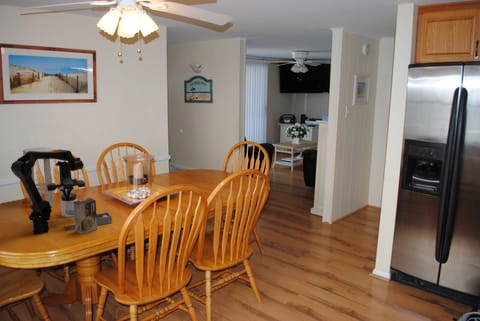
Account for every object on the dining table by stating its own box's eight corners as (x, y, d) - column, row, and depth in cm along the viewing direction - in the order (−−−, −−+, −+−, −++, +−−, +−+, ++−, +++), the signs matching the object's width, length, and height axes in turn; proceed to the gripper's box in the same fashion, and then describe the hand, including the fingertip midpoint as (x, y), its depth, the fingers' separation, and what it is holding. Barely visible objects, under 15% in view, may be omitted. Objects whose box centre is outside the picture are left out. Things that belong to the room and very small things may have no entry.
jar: (66, 212, 227) (64, 192, 225) (80, 212, 228) (78, 192, 225) (59, 217, 219) (58, 197, 216) (74, 217, 219) (72, 197, 217)
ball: (108, 222, 213) (102, 221, 211) (106, 220, 215) (100, 220, 213) (109, 216, 212) (103, 215, 210) (108, 214, 215) (102, 214, 213)
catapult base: (66, 230, 199) (65, 220, 198) (64, 226, 204) (63, 216, 203) (96, 225, 208) (95, 215, 207) (93, 221, 213) (93, 212, 212)
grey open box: (97, 225, 207) (96, 217, 206) (93, 221, 213) (93, 213, 213) (111, 223, 212) (111, 215, 211) (107, 219, 218) (107, 211, 217)
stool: (57, 205, 239) (53, 150, 232) (29, 209, 230) (24, 152, 223) (53, 199, 251) (49, 146, 244) (26, 203, 242) (21, 148, 236)
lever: (66, 214, 199) (67, 211, 199) (62, 208, 209) (63, 204, 209) (93, 218, 207) (94, 214, 207) (88, 211, 217) (89, 208, 217)
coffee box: (91, 226, 206) (89, 197, 203) (97, 229, 202) (96, 200, 199) (74, 231, 199) (73, 201, 196) (81, 234, 195) (79, 203, 192)
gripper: (48, 177, 196) (50, 207, 199) (86, 173, 206) (88, 201, 209) (45, 173, 205) (47, 201, 208) (82, 169, 215) (83, 196, 218)
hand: (67, 200), depth 210 cm, fingers closed
